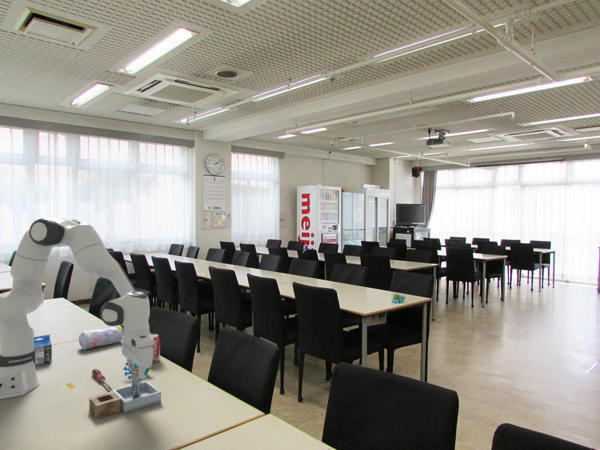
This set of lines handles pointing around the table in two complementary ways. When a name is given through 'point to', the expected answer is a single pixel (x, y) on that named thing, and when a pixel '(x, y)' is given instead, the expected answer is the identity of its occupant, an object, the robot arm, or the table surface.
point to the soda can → (156, 347)
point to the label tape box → (43, 350)
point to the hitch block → (104, 405)
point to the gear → (135, 367)
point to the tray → (148, 397)
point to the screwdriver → (99, 377)
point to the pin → (136, 384)
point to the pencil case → (100, 337)
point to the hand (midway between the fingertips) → (135, 373)
